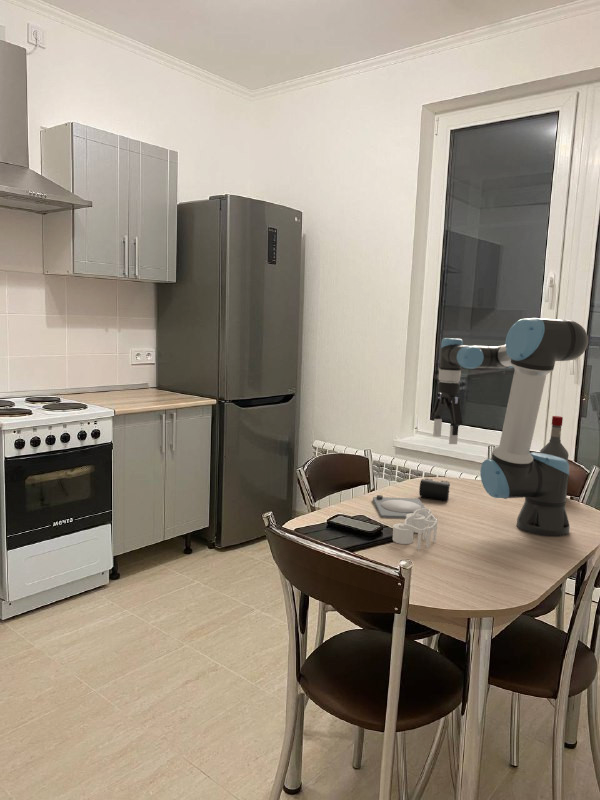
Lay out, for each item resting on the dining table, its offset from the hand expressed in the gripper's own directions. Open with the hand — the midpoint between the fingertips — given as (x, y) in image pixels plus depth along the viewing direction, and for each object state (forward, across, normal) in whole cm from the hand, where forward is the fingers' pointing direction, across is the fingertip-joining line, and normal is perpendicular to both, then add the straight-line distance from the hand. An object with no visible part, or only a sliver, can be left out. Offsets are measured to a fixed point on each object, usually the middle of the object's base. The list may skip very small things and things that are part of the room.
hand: (444, 440), depth 225 cm
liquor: (+21, -2, -43) cm, 48 cm away
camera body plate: (+21, -16, +22) cm, 34 cm away
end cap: (+21, -4, +4) cm, 22 cm away
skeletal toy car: (+21, -44, +27) cm, 56 cm away
